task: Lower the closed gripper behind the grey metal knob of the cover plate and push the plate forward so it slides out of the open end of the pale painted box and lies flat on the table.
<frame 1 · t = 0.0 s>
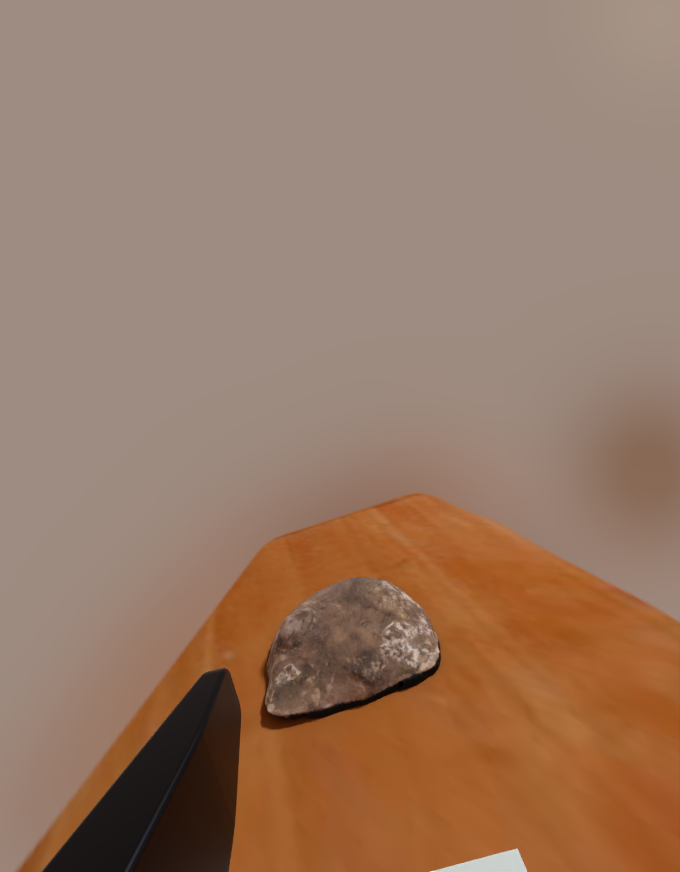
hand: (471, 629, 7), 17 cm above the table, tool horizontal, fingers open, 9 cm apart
shell: (352, 647, 30), on the table
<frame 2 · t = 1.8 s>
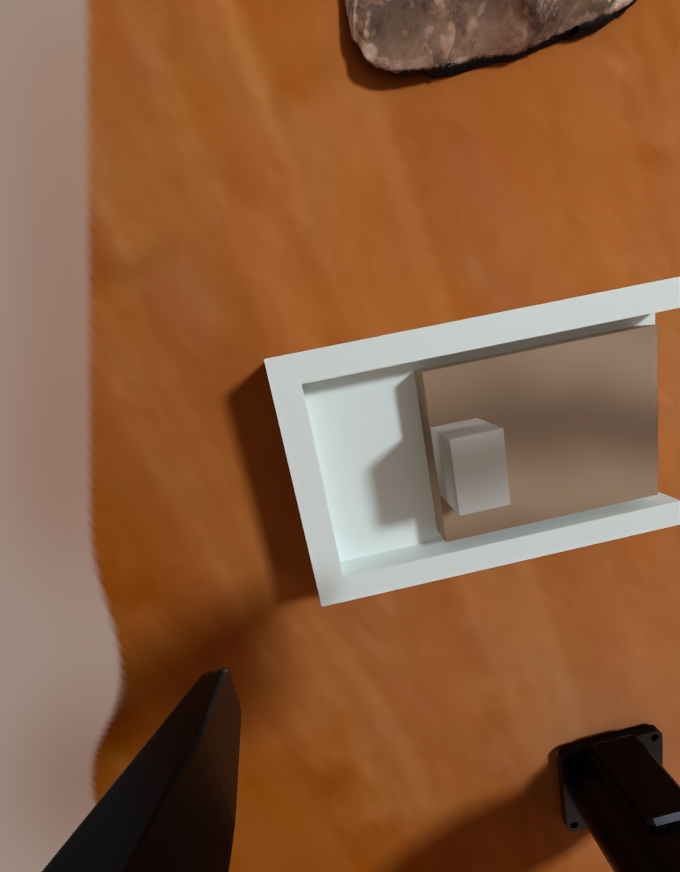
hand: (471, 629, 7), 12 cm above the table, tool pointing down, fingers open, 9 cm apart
cover plate: (531, 431, 18), point 1 cm above the table, touching open box
open box: (466, 435, 19), on the table
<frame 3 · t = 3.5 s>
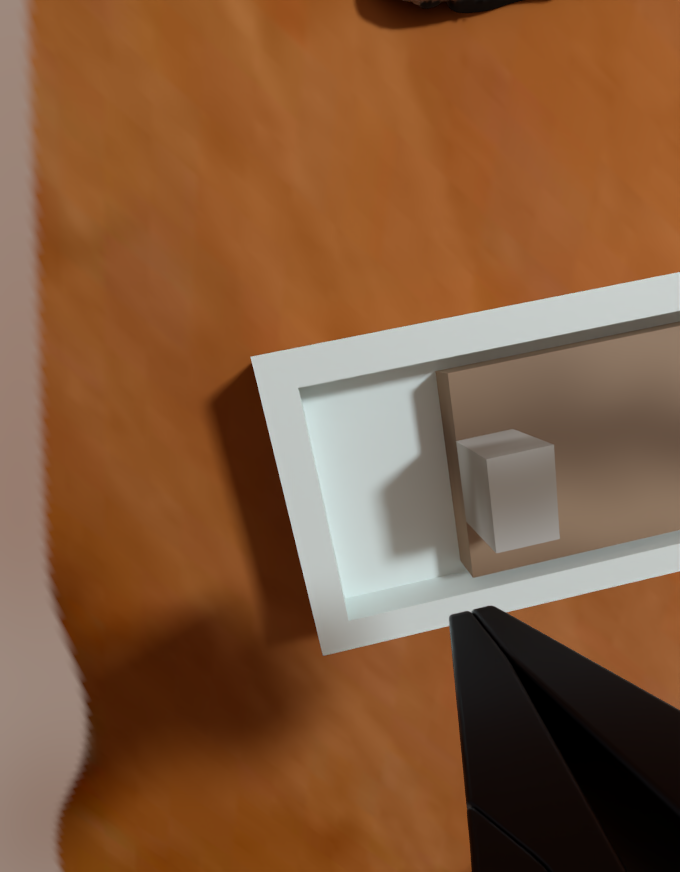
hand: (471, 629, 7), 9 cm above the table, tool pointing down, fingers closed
cover plate: (574, 444, 15), point 1 cm above the table, touching open box
open box: (493, 447, 16), on the table
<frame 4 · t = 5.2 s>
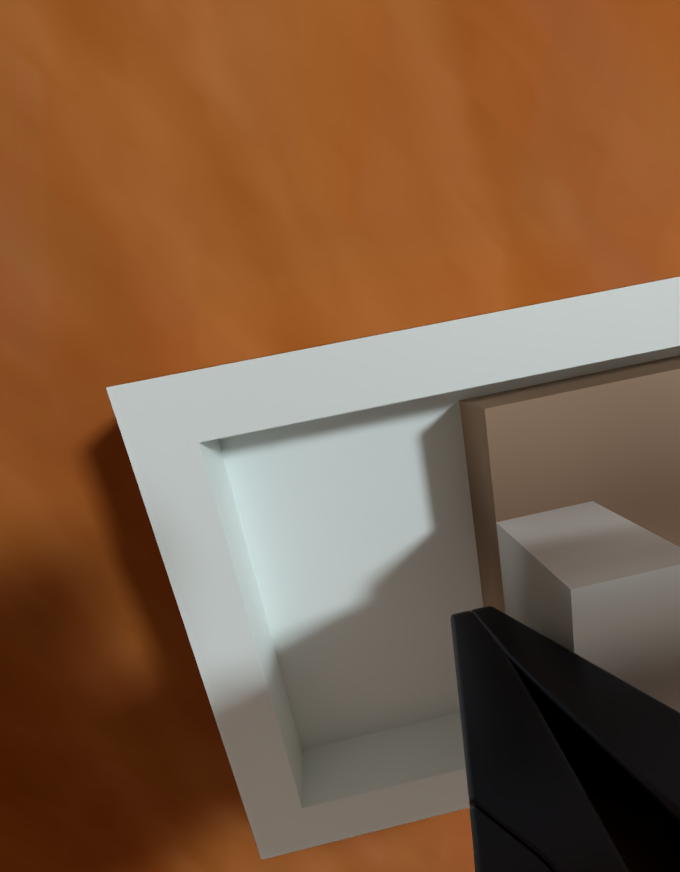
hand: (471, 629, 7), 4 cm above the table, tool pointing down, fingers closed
cover plate: (676, 513, 9), point 2 cm above the table, touching open box
open box: (530, 513, 11), on the table
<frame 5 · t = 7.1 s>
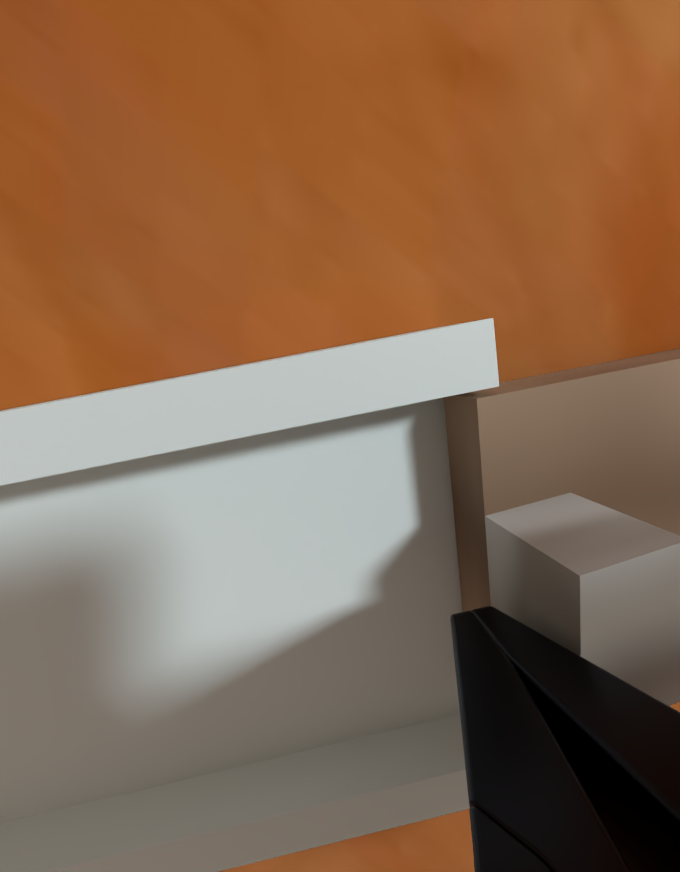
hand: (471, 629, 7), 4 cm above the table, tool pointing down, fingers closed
cover plate: (629, 505, 10), point 1 cm above the table, tilted 9°, touching gripper
open box: (154, 597, 10), on the table
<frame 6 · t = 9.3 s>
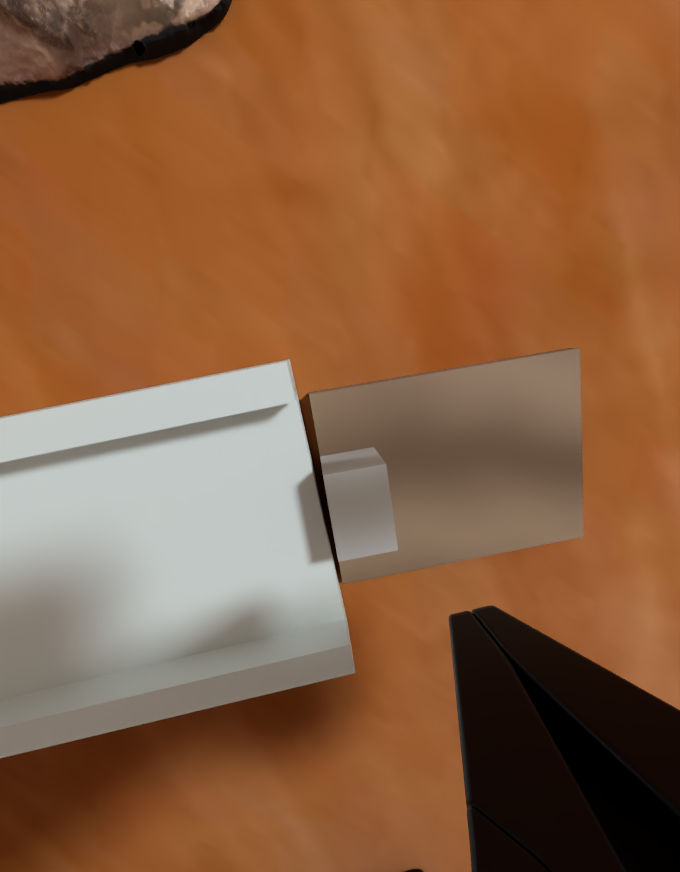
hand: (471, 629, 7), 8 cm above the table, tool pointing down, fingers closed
cover plate: (445, 462, 16), on the table
open box: (101, 547, 15), on the table
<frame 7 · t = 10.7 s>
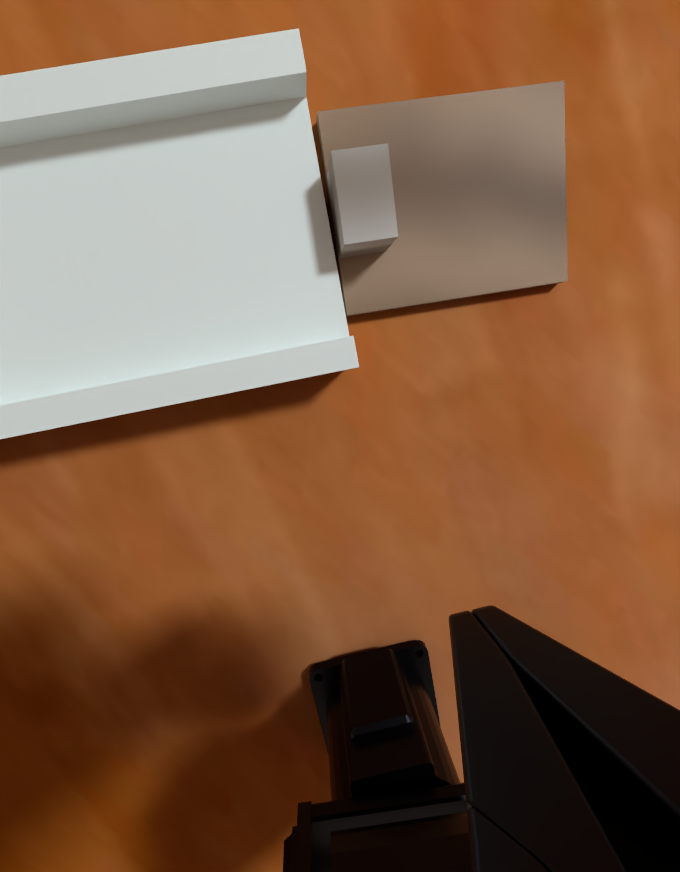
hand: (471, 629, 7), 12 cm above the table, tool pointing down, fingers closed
cover plate: (441, 212, 17), on the table
open box: (127, 272, 16), on the table
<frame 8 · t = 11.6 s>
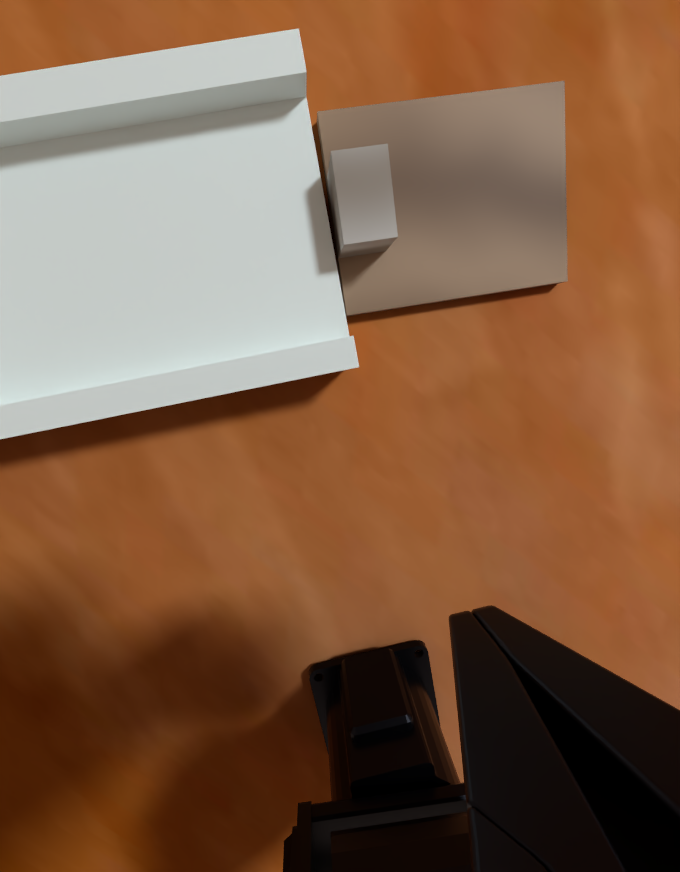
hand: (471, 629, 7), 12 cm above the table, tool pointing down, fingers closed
cover plate: (441, 212, 17), on the table
open box: (127, 272, 16), on the table
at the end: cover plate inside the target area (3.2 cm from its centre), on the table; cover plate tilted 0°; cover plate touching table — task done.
